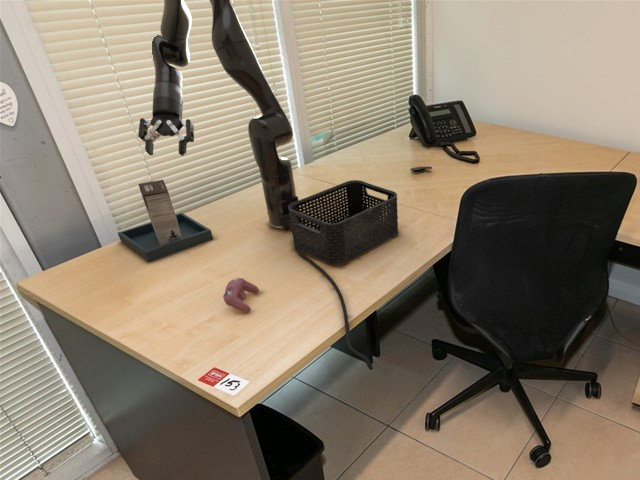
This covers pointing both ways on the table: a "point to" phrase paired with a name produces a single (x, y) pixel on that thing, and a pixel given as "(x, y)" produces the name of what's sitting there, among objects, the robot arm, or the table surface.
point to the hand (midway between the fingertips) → (165, 154)
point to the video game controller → (238, 294)
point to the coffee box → (160, 211)
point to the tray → (150, 249)
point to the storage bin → (343, 222)
